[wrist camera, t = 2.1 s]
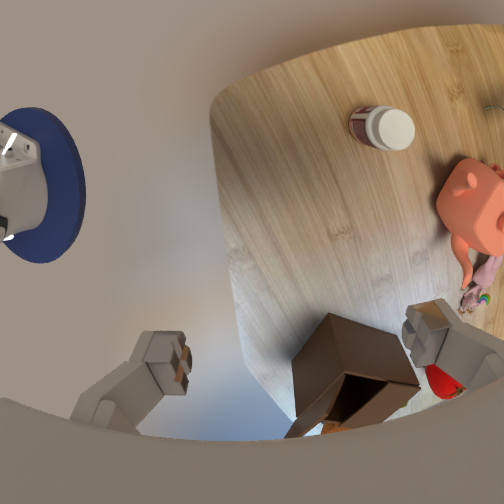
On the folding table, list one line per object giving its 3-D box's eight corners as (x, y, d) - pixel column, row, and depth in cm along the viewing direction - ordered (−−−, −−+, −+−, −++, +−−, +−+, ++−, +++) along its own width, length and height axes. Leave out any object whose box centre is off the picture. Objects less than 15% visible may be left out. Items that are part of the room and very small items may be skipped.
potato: (322, 410, 54) (330, 434, 48) (372, 403, 55) (383, 425, 49) (315, 428, 57) (321, 451, 50) (363, 421, 58) (372, 442, 51)
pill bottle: (375, 151, 31) (407, 163, 23) (342, 133, 30) (367, 139, 23) (390, 118, 29) (425, 121, 21) (357, 99, 28) (386, 95, 21)
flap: (297, 421, 36) (295, 420, 36) (346, 375, 31) (343, 373, 31) (275, 456, 29) (272, 454, 29) (328, 415, 24) (325, 413, 24)
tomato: (429, 335, 44) (453, 378, 34) (471, 327, 43) (496, 363, 33) (410, 376, 49) (427, 416, 39) (451, 366, 49) (469, 402, 39)
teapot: (491, 230, 34) (532, 262, 24) (426, 252, 36) (465, 293, 27) (490, 143, 28) (541, 160, 18) (420, 155, 30) (471, 174, 21)
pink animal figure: (470, 303, 42) (503, 239, 33) (482, 326, 37) (522, 260, 29) (448, 305, 42) (482, 236, 34) (460, 329, 38) (501, 259, 29)
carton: (291, 362, 46) (296, 421, 36) (328, 312, 41) (345, 375, 30) (358, 378, 49) (372, 430, 38) (397, 335, 44) (421, 388, 33)
